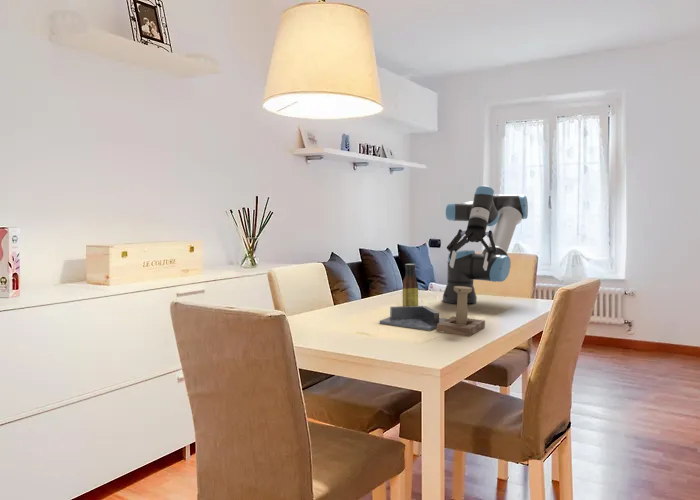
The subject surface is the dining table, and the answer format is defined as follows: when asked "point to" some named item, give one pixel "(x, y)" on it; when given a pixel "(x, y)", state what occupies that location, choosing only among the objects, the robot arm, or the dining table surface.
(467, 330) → the walnut collar
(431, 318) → the v cradle
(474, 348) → the dining table surface
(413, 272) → the sauce bottle
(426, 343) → the dining table surface
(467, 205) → the robot arm
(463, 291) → the handle
